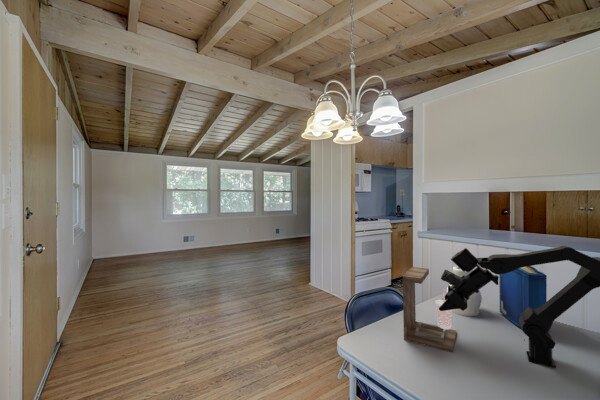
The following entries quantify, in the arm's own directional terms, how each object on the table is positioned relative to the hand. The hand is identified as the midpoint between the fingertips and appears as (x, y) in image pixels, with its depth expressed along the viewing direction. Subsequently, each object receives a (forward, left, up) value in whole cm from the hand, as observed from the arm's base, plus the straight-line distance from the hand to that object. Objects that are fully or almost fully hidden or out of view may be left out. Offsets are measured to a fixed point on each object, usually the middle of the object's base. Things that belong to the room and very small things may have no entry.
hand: (440, 306), depth 102 cm
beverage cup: (0, -1, -7) cm, 7 cm away
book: (+30, -27, -12) cm, 42 cm away
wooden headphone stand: (0, +3, -12) cm, 12 cm away
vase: (+34, -6, -12) cm, 36 cm away
